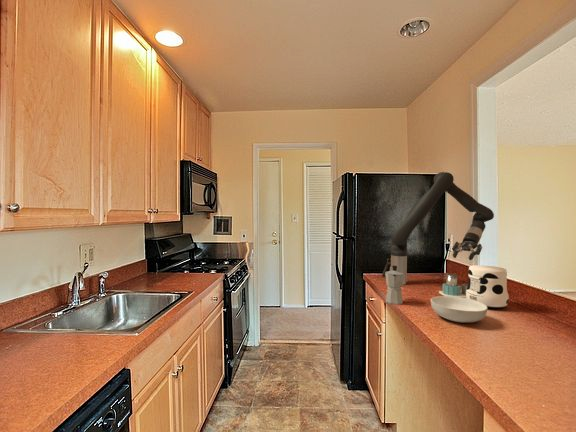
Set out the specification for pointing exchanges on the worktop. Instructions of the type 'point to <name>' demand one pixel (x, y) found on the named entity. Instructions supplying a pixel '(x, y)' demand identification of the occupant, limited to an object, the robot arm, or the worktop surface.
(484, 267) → the milk container
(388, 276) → the coffee maker
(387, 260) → the door stopper
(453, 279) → the salt shaker
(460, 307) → the serving bowl
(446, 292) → the fitting plate
